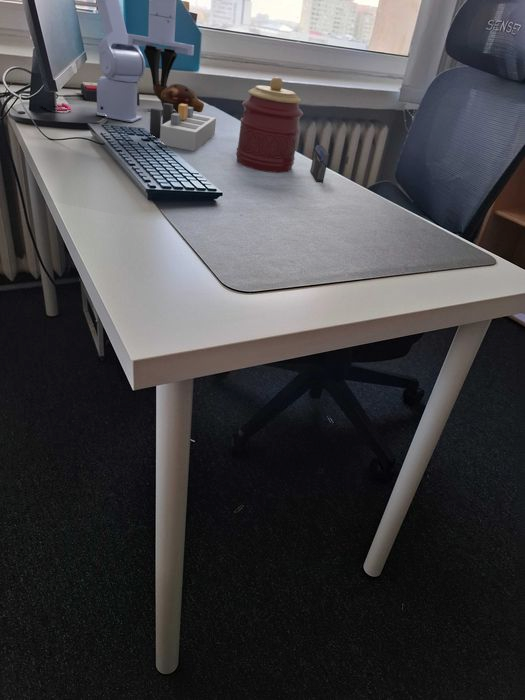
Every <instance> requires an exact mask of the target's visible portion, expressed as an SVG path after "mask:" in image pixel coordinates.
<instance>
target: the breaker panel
mask: <svg viewBox="0 0 525 700" xmlns="http://www.w3.org/2000/svg"><path fill="white" fill-rule="evenodd" d="M193 109H194V107H189V106H188V112H187V118H186V119H185V120H181V114H178V113H177V112H173V114H171V120H170V121H168V122H166V123H164V124H162V123H161V128H160V138H159V142H160V141H161V142H163V143H164V144H166V145H167V147H171V148H176V149H183V150H187V151H191V152H192V151H193V152H195V151H196V150H198V149H199V148H200V147H202V146H203V145H204V144H205V143H206V142H207V141H209V140H210V139H211V138H212V137H213V136H215V133H216V124H217V123H216V122H217V117H212V116H210V115H209V116H208V115H203V114H198V113H194V111H193ZM166 145H165V146H166Z"/></svg>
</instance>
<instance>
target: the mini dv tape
mask: <svg viewBox="0 0 525 700" xmlns="http://www.w3.org/2000/svg"><path fill="white" fill-rule="evenodd" d="M312 156H313V157H312V161H311V165H310V166H311V167H310V169H309V172H310V174H311V176H312V179H314V181H315V183H320V184H323V183H324V179H325V175H326V171H327V165H328V161H329V156H330V153H329V152H328V151H327V149H325V147H324V146H323V145H320V144H316V146H315V148H314V152H313V155H312Z"/></svg>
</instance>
